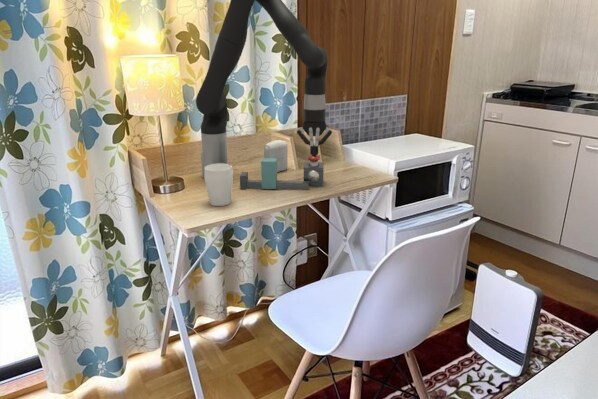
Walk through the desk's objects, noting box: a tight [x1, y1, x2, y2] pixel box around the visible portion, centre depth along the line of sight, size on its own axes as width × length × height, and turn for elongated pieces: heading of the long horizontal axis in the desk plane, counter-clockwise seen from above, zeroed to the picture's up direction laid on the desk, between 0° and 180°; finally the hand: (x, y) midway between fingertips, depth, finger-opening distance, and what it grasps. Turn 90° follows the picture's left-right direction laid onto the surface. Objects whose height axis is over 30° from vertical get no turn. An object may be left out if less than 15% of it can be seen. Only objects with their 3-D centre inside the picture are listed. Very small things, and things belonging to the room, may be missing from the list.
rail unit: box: [239, 161, 325, 191], centre depth 166 cm, size 29×13×7 cm, turn 86°
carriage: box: [260, 157, 278, 190], centre depth 162 cm, size 5×4×10 cm
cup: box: [204, 163, 234, 207], centre depth 148 cm, size 9×9×12 cm
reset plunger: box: [307, 154, 321, 166], centre depth 167 cm, size 4×4×7 cm
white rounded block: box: [263, 139, 288, 173], centre depth 182 cm, size 10×4×12 cm, turn 134°
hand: (314, 155), depth 166 cm, fingers closed
